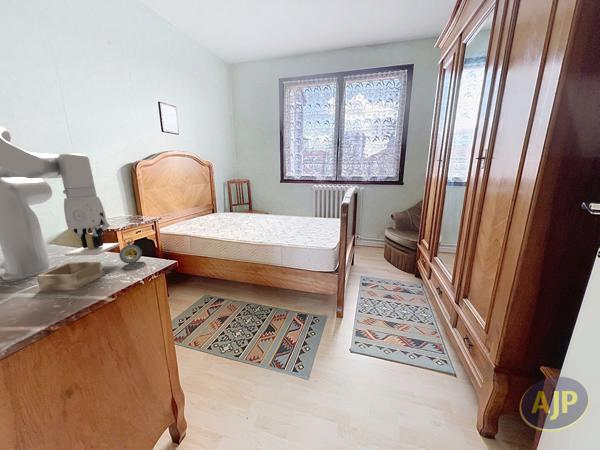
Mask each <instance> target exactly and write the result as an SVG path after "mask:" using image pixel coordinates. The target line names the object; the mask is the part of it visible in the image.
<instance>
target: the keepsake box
mask: <svg viewBox="0 0 600 450" xmlns="http://www.w3.org/2000/svg"><path fill="white" fill-rule="evenodd" d="M103 275H104V273H103V269H102V263H101V262H100V261H90V262H89V261H85V262H83V261H81V262H80V261H79V262H67V263H64V264H62V265H60V266H57V267H56V268H54V269H52V270H50V271H47V272H45V273H42V274H40V275H36V280H37V283H38V287H39V291H43V292H44V291H77V290H79V289H80V288H83V287H84V286H86V285H87V284H89V283H91V282H94V281H95V280H97V279H98V278H100V277H102V276H103Z"/></svg>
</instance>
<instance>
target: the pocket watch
mask: <svg viewBox="0 0 600 450" xmlns="http://www.w3.org/2000/svg"><path fill="white" fill-rule="evenodd" d="M126 240H128V241H126ZM130 240H131V241H130ZM133 240H134V239H133V238H132V237H131V238H129V237H128V238H125V239H124V240H123V243H125V244H128V245H126V246H124V247H123V248H121V250H120V252H119V253H118V254H119V256H118V257H119V259H120V260H121V261H122V262H123V263H125V264H126V265H123V267H122V268H123V270H125V271H133V270H138V269H141V268H143V267H145V266H146V262H145V261H140V259H141V257H142V255H143V251H142V249H141V248H140V247H139V246H138V245H135V244H131V243H133ZM135 264H142V265H140V266H138V267H133V268H126V267H128V266H130V265H135Z"/></svg>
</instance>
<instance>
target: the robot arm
mask: <svg viewBox="0 0 600 450" xmlns="http://www.w3.org/2000/svg"><path fill="white" fill-rule="evenodd" d="M11 138H12V137H11V133H10V132H9V131H8V130H7V129H6V128H5V127H3V126H0V249H1V253H2V255H3V259H4V261H2V263H1V264H0V270H1V269H3V270H4V271H5V272H4V273H3V274H2V275H1V279H2V280H4V281H10V280H11V281H12V280H21V279H25V278H26V279H27V278H32V277H35V276H36V277H37V276H38V275H40V274H42V273H45V272H47V271H50V270H52V269H54V268H57V267H58V265H57V264H56V262H50V259H49V256H48V252H47V248H46V243H45V241H44V235H43V232H42V229H41V225H40V220H39V219H38V216H37V214H36V213H35V212H34V210H33V209H32V208H31V207H30V206H34V205H39V204H40V205H41V204H43V203H45V202H48V201H49V200H50V199H51V198H52V195H53V190H52V188H51V186H50V184H49V183H48V182H47V181H46V180H45V179H59V178H61V179H62V184H63V188H64V190H63V191H62V193H63V194H64V195H65V198H64V199H63V200H64V201H63V210H64V211H63V212H64V218H65V222H66V227H67V229H68V230H70V231H73V232H74V233H75V234H77V236H78V237H79V238H80V239H81V245H82V247H83V248H87V247H88V246H87V242H86V238H85V234H89V229H91V233H93V237H92V240H93V244H94V247H95V248H98V247H100V246H103V243H104V241H103V238H102V235H103V234H104V231H106V230H107V229H109V228H110V226H111V225H110V224H109V223H108V222H107V217H106V211H105V208H104V207H103V203H102V202H101V199H100V196H97V190H96V187H95V180H94V177H93V173H92V171H93V170H92V166H91V163H90V158H89V157H88V156H87V154H81V153H62V154H53V153H44V152H43V153H41V152H29V151H28V150H27V151H26V150H25V149H22V148H21V147H19V146H16V145H14V144H12V143H10V142H11Z"/></svg>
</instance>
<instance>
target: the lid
mask: <svg viewBox="0 0 600 450" xmlns="http://www.w3.org/2000/svg"><path fill="white" fill-rule="evenodd" d="M92 237H93V233H92V232H90V233H89V232H88V234H85V238H86V242H87V246H88V247H87V248H83V246H82V247H79V248H76V249H73V250H70V251H68V252H66V253H64V256H65V257H68V256H69V257H72V256H75V257H77V256H99V255H101V254H103V253H105V252H108V251H110V250H112V249H115V248H117V247H119V246H121V244H120V242H114V243H113V242H111V243H110V242H107V243H105V242H103V246H100V247H98V248H95V247H94V244H93V240H92Z"/></svg>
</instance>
